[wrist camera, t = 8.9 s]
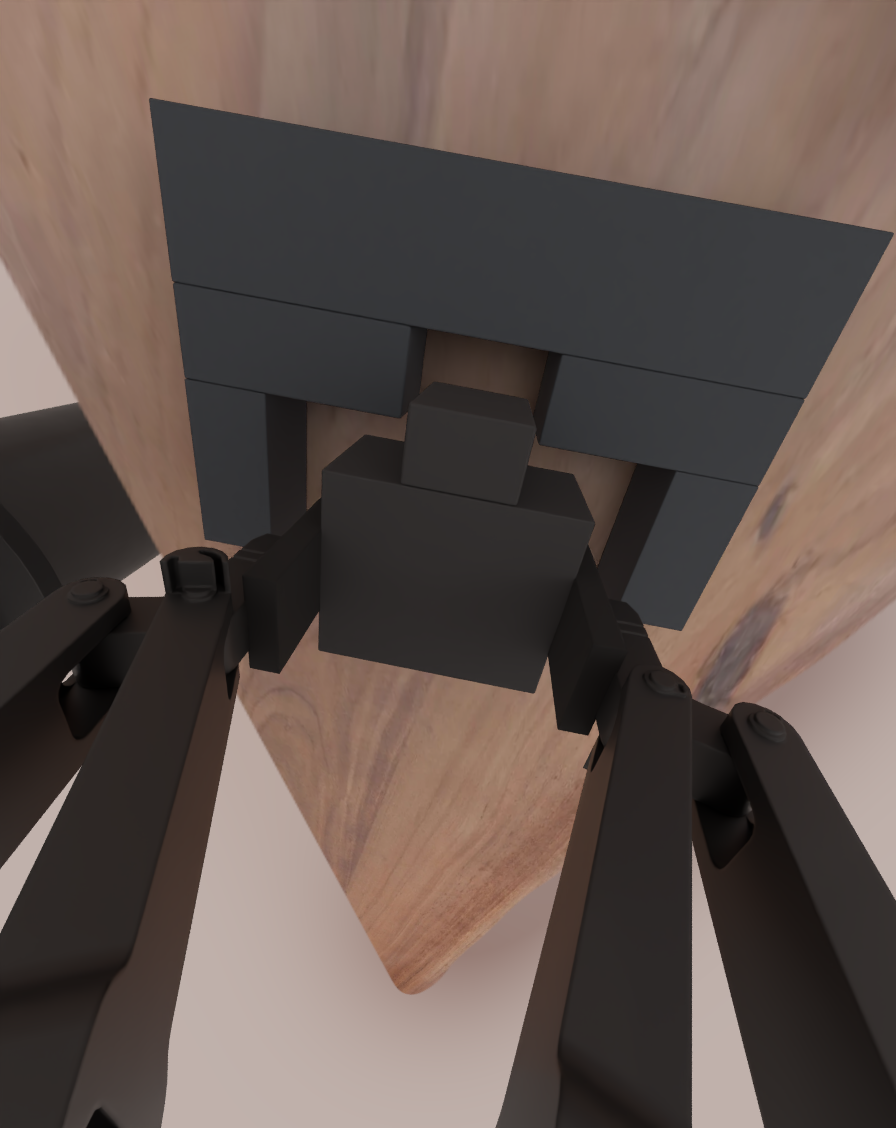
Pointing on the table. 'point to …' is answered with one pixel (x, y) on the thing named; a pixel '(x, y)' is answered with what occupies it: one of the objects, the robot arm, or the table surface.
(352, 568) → the black block
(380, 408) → the pad base
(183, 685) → the robot arm
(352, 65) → the table surface
